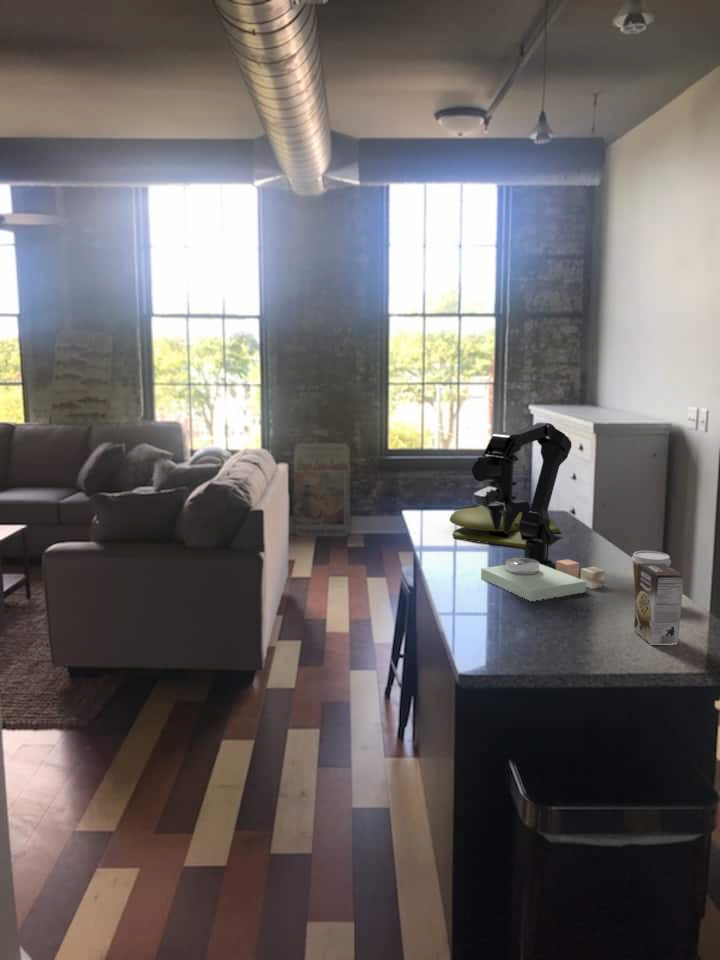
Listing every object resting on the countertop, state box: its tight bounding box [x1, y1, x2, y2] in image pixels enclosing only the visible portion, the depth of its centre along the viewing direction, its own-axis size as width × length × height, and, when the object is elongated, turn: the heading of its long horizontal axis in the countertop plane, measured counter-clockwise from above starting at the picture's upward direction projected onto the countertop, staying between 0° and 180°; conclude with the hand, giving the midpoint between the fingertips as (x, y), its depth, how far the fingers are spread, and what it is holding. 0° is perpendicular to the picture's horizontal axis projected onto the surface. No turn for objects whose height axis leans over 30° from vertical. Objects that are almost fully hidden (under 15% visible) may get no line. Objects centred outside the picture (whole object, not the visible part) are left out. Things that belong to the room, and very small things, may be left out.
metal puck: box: [505, 557, 539, 575], centre depth 210 cm, size 9×9×2 cm
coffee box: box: [633, 563, 685, 645], centre depth 168 cm, size 9×6×16 cm
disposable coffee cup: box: [631, 550, 672, 600], centre depth 194 cm, size 10×10×12 cm
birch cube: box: [579, 566, 606, 589], centre depth 207 cm, size 4×4×4 cm
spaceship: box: [449, 504, 561, 549], centre depth 265 cm, size 35×31×10 cm
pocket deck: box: [480, 563, 587, 602], centre depth 207 cm, size 18×22×3 cm
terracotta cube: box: [555, 558, 580, 579], centre depth 214 cm, size 4×4×4 cm
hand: (501, 531), depth 218 cm, fingers open, 4 cm apart
